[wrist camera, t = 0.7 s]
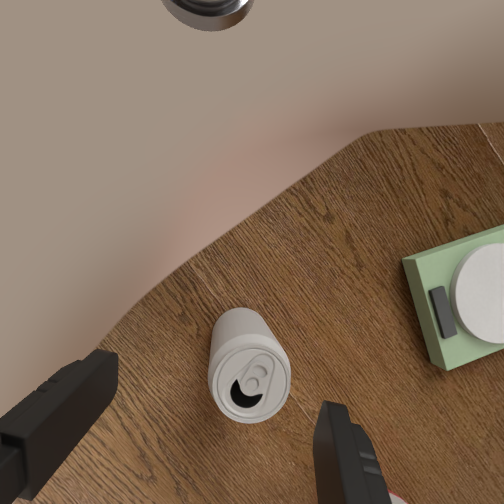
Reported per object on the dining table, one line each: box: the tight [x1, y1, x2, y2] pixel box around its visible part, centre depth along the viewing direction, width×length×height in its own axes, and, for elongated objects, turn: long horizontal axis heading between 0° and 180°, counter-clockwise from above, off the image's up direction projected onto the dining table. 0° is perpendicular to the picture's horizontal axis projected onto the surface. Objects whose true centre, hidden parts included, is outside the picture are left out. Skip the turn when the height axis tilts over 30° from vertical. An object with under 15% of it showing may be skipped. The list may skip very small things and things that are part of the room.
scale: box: [402, 224, 504, 371], centre depth 32 cm, size 16×14×3 cm
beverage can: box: [208, 308, 291, 423], centre depth 24 cm, size 6×6×12 cm
